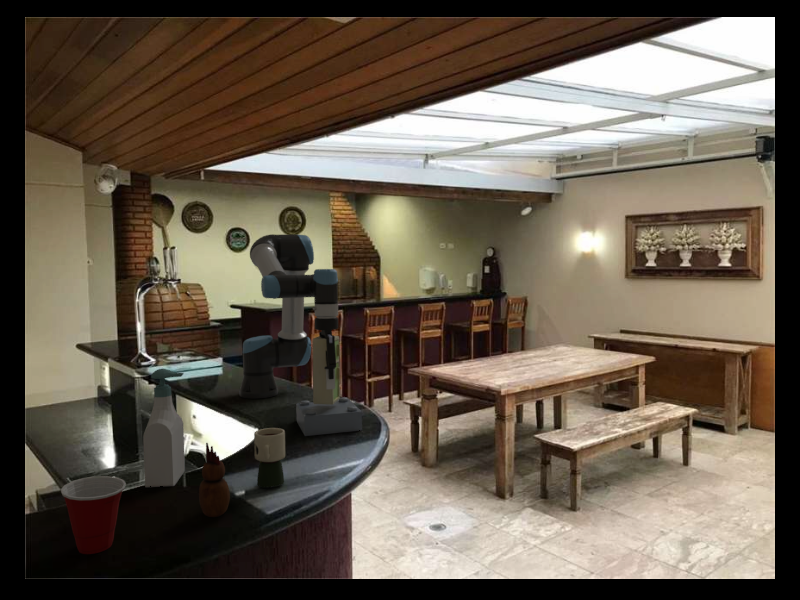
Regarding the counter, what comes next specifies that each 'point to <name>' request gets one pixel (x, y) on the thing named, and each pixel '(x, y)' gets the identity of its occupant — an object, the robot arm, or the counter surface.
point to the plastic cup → (93, 511)
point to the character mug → (270, 456)
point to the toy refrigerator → (324, 373)
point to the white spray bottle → (163, 437)
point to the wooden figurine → (213, 486)
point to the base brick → (328, 417)
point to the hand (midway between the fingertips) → (327, 385)
